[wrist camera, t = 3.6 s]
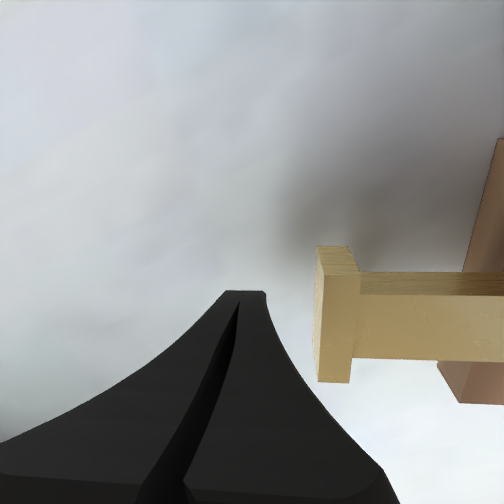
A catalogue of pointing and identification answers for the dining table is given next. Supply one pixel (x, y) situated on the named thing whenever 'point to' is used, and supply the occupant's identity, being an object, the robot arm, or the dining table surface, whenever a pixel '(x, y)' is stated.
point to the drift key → (402, 315)
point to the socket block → (483, 260)
